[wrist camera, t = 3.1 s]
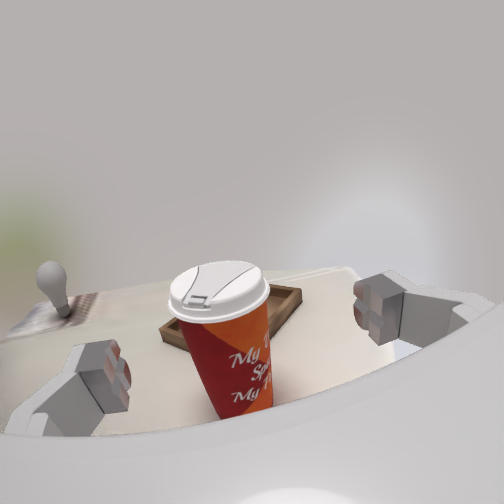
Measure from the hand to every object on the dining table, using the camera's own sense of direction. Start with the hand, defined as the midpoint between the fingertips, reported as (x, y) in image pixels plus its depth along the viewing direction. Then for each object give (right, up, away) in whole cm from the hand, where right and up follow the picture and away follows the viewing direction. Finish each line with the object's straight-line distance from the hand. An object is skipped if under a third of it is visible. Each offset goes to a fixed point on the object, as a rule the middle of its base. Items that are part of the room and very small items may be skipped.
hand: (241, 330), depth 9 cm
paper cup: (0, -12, +17) cm, 21 cm away
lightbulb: (-34, -10, +38) cm, 52 cm away
